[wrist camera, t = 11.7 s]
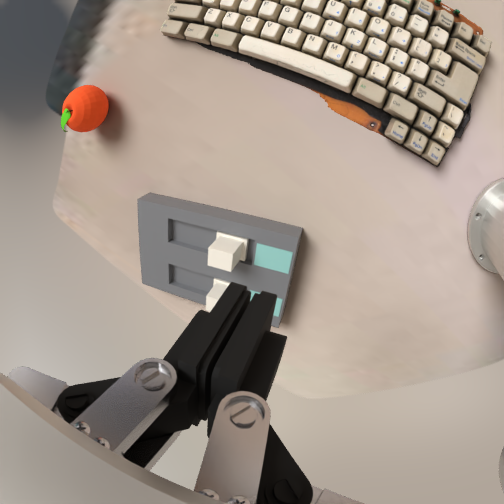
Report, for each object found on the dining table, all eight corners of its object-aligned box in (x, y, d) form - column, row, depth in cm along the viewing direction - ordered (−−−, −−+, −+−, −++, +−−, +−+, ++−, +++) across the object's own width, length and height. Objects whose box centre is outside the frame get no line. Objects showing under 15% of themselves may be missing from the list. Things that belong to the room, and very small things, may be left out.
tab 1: (249, 237, 39) (237, 253, 35) (246, 258, 40) (234, 275, 37) (219, 229, 40) (204, 244, 36) (217, 250, 41) (203, 266, 37)
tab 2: (243, 283, 42) (232, 302, 39) (241, 301, 44) (230, 319, 40) (216, 275, 43) (202, 292, 39) (214, 293, 44) (202, 310, 41)
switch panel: (302, 228, 38) (298, 238, 36) (283, 314, 45) (278, 328, 43) (149, 192, 43) (137, 199, 40) (152, 273, 50) (142, 283, 47)
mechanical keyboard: (158, 57, 34) (144, 56, 31) (205, -60, 24) (193, -70, 21) (441, 170, 30) (449, 176, 27) (494, 39, 20) (505, 35, 18)
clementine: (99, 141, 42) (65, 152, 36) (77, 112, 40) (44, 120, 34) (125, 104, 38) (90, 109, 32) (102, 74, 36) (66, 76, 30)
